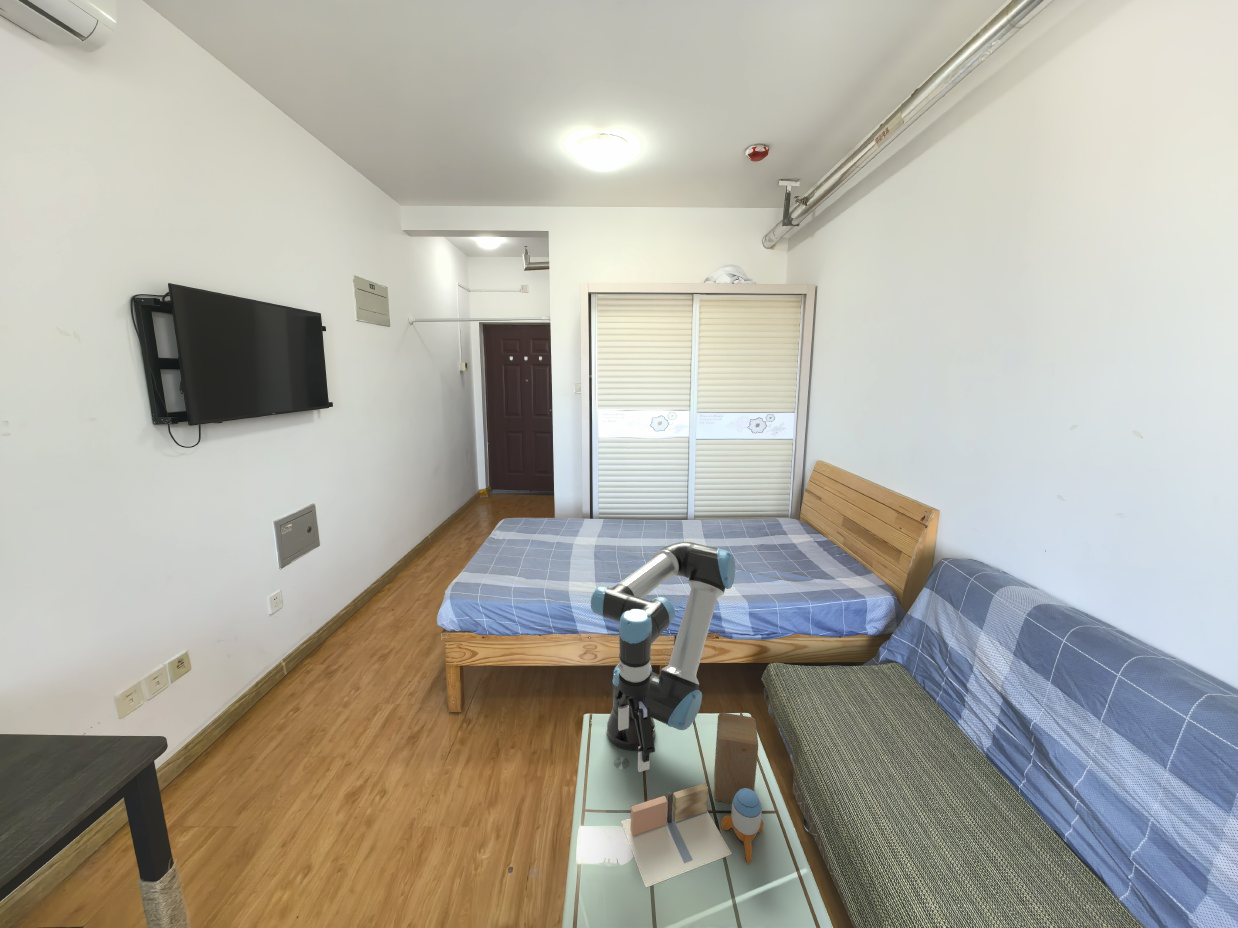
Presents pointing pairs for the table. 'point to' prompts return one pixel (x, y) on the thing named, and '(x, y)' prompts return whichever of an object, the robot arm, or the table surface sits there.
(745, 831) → the toy rocket
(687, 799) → the fixed fence panel
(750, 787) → the wooden block
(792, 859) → the table surface
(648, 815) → the hinged fence panel
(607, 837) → the table surface
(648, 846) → the card
